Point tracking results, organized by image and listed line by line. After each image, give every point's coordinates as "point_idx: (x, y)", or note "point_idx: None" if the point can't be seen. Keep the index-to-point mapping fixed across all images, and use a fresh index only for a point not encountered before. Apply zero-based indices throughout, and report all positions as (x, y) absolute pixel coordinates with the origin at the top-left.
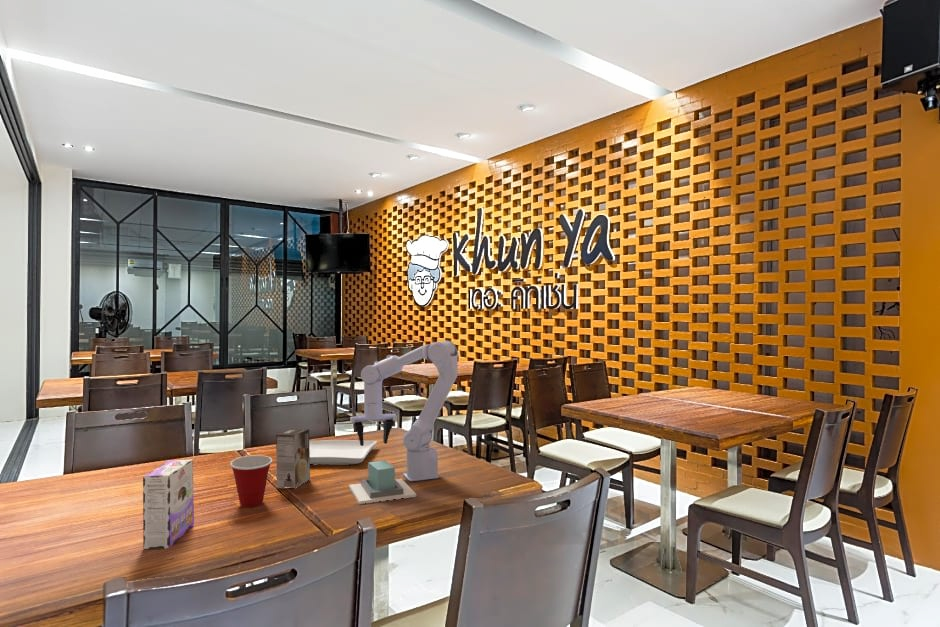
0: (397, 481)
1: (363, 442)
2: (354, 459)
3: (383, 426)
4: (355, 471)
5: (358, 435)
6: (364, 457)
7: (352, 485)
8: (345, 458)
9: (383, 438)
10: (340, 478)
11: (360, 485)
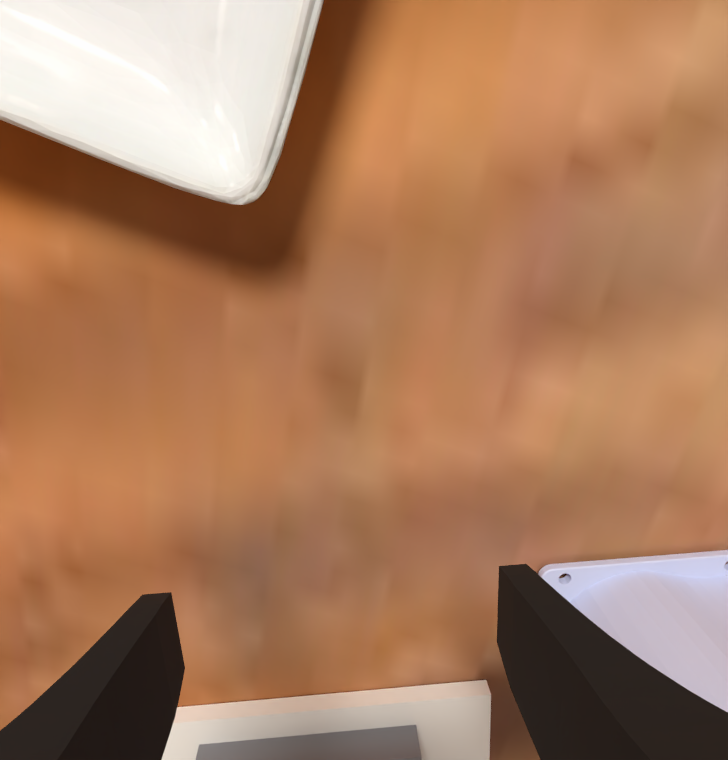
0: (448, 741)
1: (172, 721)
2: (153, 165)
3: (631, 758)
4: (180, 333)
5: (47, 708)
6: (272, 172)
7: None
8: (33, 132)
9: (519, 597)
10: (49, 497)
11: (195, 755)
